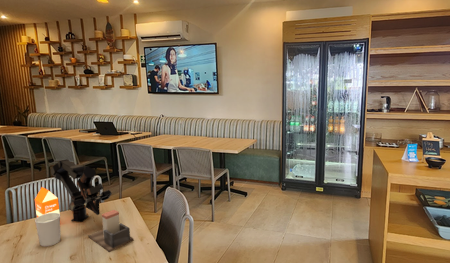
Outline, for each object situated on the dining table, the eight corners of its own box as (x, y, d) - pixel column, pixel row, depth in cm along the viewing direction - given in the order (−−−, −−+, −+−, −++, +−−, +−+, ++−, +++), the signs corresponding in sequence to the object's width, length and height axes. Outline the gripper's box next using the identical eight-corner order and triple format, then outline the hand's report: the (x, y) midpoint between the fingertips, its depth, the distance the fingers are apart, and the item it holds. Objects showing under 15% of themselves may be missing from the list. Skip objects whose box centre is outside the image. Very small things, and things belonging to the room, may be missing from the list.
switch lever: (103, 238, 131) (101, 214, 129) (115, 233, 135) (114, 209, 133) (108, 241, 128) (106, 216, 126) (120, 235, 133) (118, 212, 131)
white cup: (34, 249, 125) (31, 224, 123) (42, 237, 134) (39, 214, 132) (59, 245, 127) (56, 221, 125) (65, 234, 137) (62, 211, 135)
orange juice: (44, 230, 140) (40, 192, 137) (37, 225, 146) (33, 188, 142) (61, 224, 146) (57, 188, 143) (53, 219, 152) (49, 184, 148)
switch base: (88, 237, 134) (87, 223, 133) (112, 227, 143) (111, 214, 142) (109, 252, 122) (108, 237, 121) (133, 240, 131) (132, 226, 130)
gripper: (70, 184, 131) (83, 213, 126) (108, 174, 145) (121, 200, 140) (65, 196, 137) (77, 224, 132) (102, 185, 151) (114, 210, 146)
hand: (98, 214), depth 138 cm, fingers closed
